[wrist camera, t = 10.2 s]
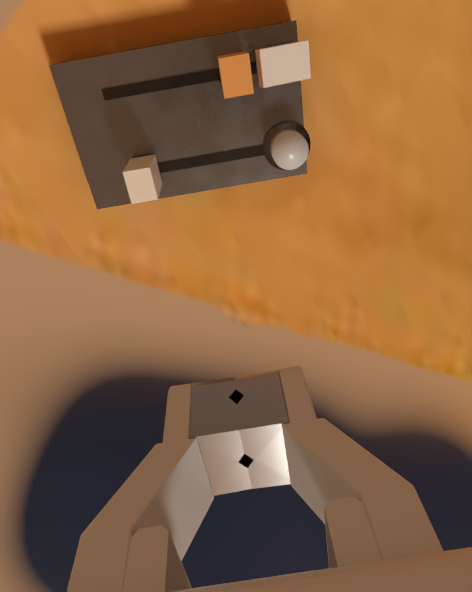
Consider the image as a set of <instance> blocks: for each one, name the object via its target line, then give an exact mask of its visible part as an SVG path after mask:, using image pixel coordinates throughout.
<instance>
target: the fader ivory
mask: <svg viewBox="0 0 472 592" xmlns="http://www.w3.org/2000/svg"><path fill="white" fill-rule="evenodd" d="M123 176H124V179H125V183H126V186H127V190H128V193H129V197H130V200H131V203H132V204H134V203H139V202H145V201H151V200H157V199H158V197H159V194H160V190H161V187H162V180H161V176H160V172H159V168H158V163H157V159H156V155H155V154H154V155H148V156H142V157H137V158H131V159H130V160H129V162H128V164H127V165H126V167H125V169H124V170H123Z"/></svg>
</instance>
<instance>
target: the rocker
mask: <svg viewBox="0 0 472 592" xmlns="http://www.w3.org/2000/svg"><path fill="white" fill-rule="evenodd" d="M255 54H256V62H257V71H258V80H259V87H261V88H266V87H271V86H276V85H281V84H286V83H291V82H295V81H300V80H305V79H310V78H311V75H310V58H309V41H308V40H307V41H299V42H294V43H288V44H283V45H278V46H273V47H267V48H262V49H257V50H255Z"/></svg>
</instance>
